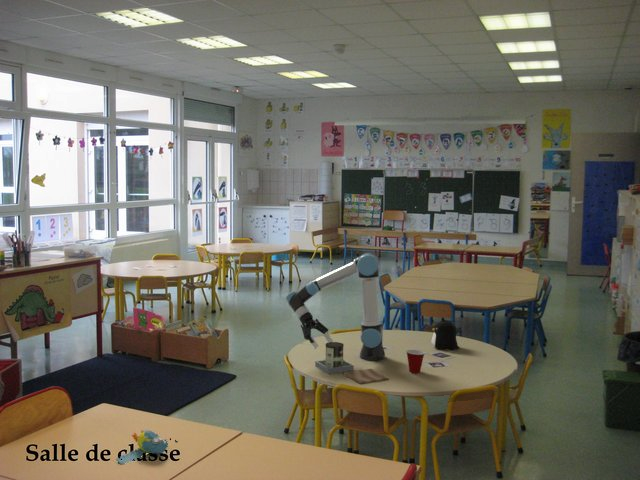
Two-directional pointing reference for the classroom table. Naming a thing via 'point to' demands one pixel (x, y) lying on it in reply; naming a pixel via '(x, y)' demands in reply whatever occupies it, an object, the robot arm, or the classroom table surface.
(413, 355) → the plastic cup
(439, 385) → the classroom table surface
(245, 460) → the classroom table surface
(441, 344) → the penguin
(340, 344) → the coffee can
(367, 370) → the walnut board
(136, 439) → the blue toy bird
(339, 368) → the grey tub
